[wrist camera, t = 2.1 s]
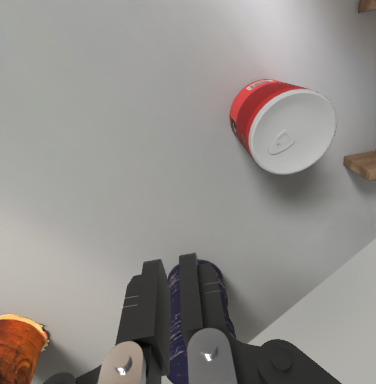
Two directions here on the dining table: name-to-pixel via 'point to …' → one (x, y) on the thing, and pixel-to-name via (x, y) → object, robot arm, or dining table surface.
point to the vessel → (19, 348)
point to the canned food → (283, 125)
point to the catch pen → (370, 161)
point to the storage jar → (176, 339)
